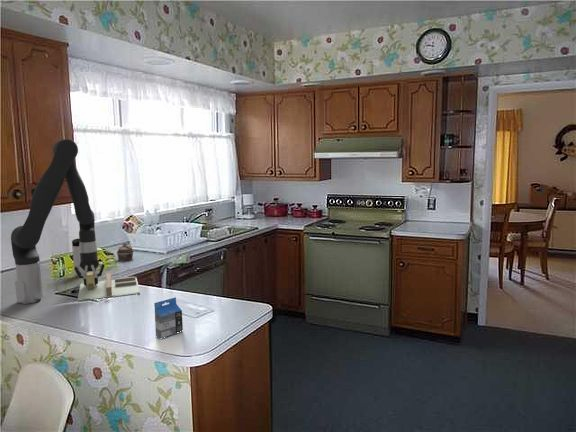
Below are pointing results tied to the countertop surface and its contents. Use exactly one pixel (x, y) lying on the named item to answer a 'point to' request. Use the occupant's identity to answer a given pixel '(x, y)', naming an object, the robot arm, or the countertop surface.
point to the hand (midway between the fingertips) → (91, 285)
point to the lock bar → (90, 279)
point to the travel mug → (76, 255)
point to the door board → (103, 291)
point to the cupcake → (125, 252)
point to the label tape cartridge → (167, 318)
